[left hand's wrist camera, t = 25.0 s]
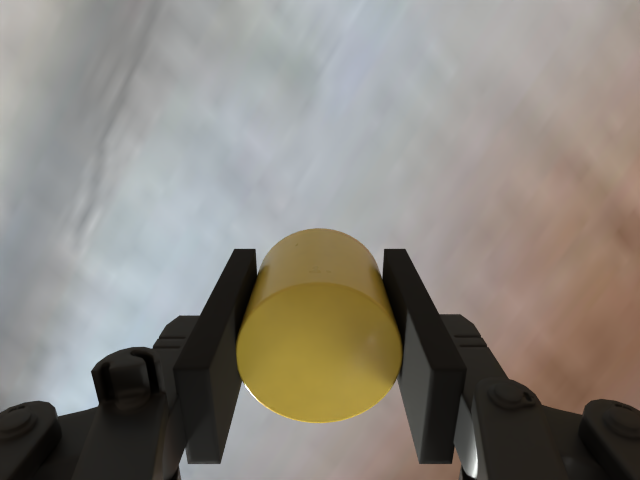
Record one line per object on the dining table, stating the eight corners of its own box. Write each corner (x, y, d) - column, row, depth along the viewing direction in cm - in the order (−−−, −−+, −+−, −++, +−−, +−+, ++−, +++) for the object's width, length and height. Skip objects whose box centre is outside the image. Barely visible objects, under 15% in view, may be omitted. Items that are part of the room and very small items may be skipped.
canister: (353, 352, 16) (364, 441, 12) (242, 317, 16) (214, 398, 12) (400, 252, 15) (432, 315, 11) (280, 209, 14) (264, 259, 10)
